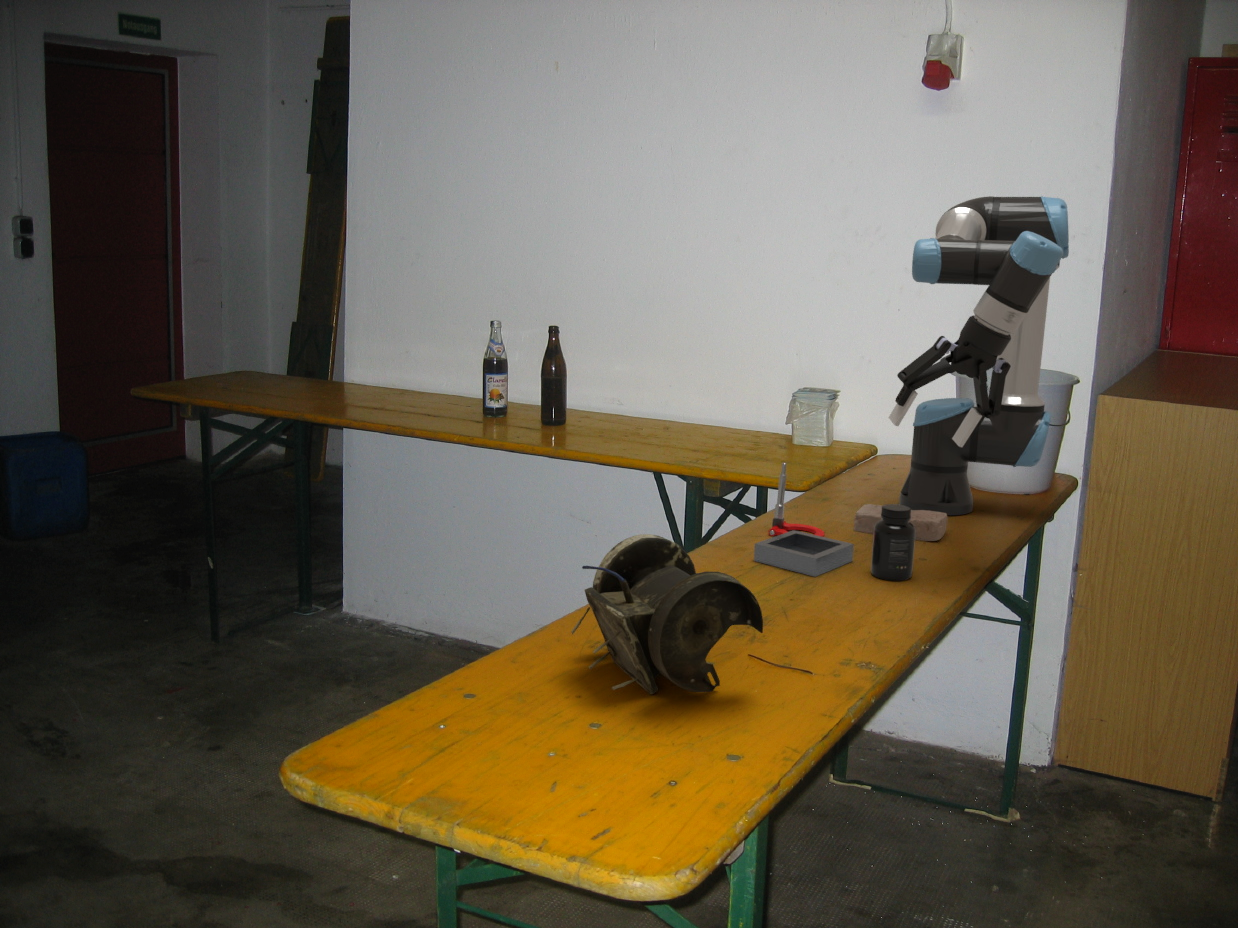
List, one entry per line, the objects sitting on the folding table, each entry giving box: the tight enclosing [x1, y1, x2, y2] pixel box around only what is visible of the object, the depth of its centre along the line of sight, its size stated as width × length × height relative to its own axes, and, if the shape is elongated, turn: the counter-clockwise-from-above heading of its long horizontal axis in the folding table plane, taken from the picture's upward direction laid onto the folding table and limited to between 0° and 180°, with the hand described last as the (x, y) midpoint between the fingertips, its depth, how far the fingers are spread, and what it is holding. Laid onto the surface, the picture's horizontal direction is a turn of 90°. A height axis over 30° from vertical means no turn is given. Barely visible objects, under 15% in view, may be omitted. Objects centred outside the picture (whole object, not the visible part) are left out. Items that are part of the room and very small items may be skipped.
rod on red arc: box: [768, 462, 825, 537], centre depth 207 cm, size 9×14×10 cm
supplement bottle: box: [870, 503, 916, 582], centre depth 184 cm, size 7×7×12 cm
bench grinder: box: [570, 533, 764, 695], centre depth 140 cm, size 20×22×20 cm
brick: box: [853, 503, 948, 542], centre depth 212 cm, size 17×8×5 cm, turn 63°
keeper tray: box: [753, 530, 855, 577], centre depth 192 cm, size 12×12×3 cm
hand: (925, 432), depth 186 cm, fingers open, 13 cm apart
